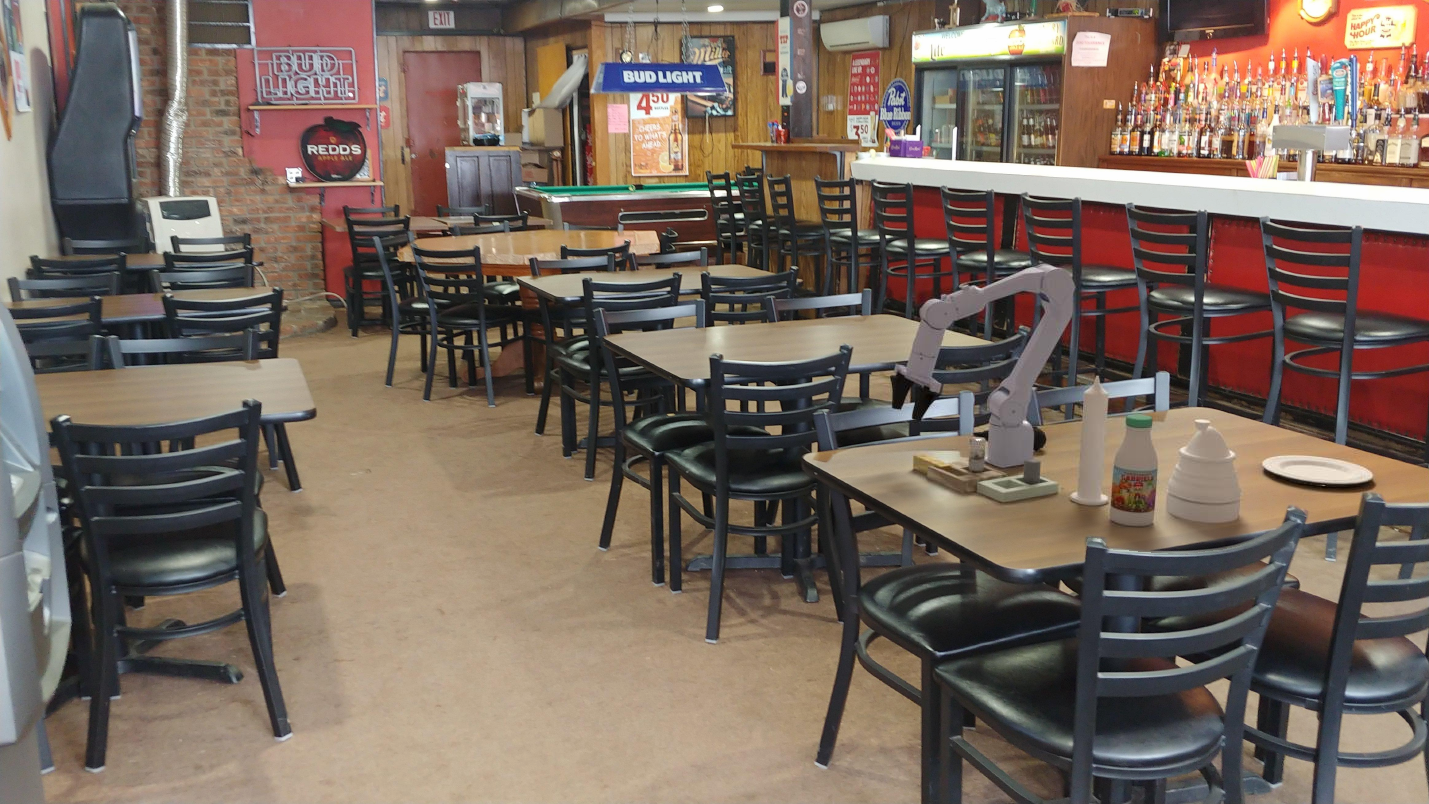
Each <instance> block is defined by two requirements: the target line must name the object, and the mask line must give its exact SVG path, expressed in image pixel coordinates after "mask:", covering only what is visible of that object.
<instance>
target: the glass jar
mask: <svg viewBox="0 0 1429 804" xmlns="http://www.w3.org/2000/svg"><path fill="white" fill-rule="evenodd" d="M986 441H987V439H985V438H983V437H979V436H976V437H974V436H973V437H970V438H969V443H968V444H969V446H968V447H969V448H968V460H969V466H968V471H969V472H972V473H974V474H975V473H981V472H984V465H985V463H986V462H985V456H986Z"/></svg>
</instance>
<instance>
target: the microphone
mask: <svg viewBox="0 0 1429 804" xmlns="http://www.w3.org/2000/svg"><path fill="white" fill-rule="evenodd" d="M1032 428H1033V431H1034V445H1033V450H1035V451H1037V449H1038V450H1040V449H1044V447H1045V445H1046V443H1047V437H1046V436H1047V435H1046V433H1045V431H1043V430H1042V429H1041V428H1039V427H1037V426H1032ZM972 434H973V436H976V437H980V438H984V439H986V440H988V437H989V429H988V430H983V431H975V432H973V433H972Z"/></svg>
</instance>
